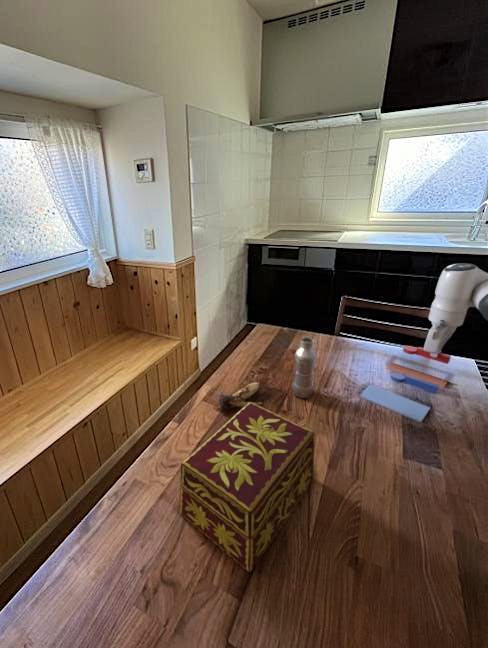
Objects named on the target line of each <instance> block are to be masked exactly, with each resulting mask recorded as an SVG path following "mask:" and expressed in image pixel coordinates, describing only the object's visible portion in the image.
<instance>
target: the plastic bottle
mask: <svg viewBox="0 0 488 648" xmlns="http://www.w3.org/2000/svg"><path fill="white" fill-rule="evenodd" d="M314 341H315V340H314V339H313V338H312V337H308V336H305V337H301V339H300V344H299V347H298V348H297V349H296V351H295V353H294V359H295V374H294V380H293V381H292V386H291V387H292V393H293V394H294V395H295V396H296V397H297V398H300V399H308V398H310V397H311V396H313V392H314V382H313V381H314V372H315V371H314V370H315V366H316V361H317V357H318V355H317V352H316V350H315V349H314V346H315V345H314V343H315V342H314Z"/></svg>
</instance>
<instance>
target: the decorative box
mask: <svg viewBox="0 0 488 648" xmlns="http://www.w3.org/2000/svg"><path fill="white" fill-rule="evenodd" d="M254 403H255V402H254ZM254 403H252V401H249V403H248V404H247V405H245V406H244V407H243V408H242V407H241V408H240V410H238V411H237V412H236V413H235V414H234V415H232V417H231V418H229V420H227V421H226V422H225V423H224V424H223V425H222V426H220V427H219V428H218V429H217V430H216V431H215V432H214V433H212V435H211V436H210V437H208V438H207V439H206V440H205V441H204V442H202V443H201V444H200V445H199V446H198V447H197V448H196V449H195V450H194V451H193V452H191V453H190V454H189V455H188V456H187V457H186V458H185V459H184V460H183V461H182V462H181V464H180V481H179V483H180V485H179V514H180V513H181V514H180V515H181V516H182V515H183V516H184V517H183V516H182V517H183V518H184V519H185V520H186V521H188V522H189V521H190V522H191V523H190V522H189V523H190V524H191V525H193V526H194V527H195V528H196V527H197V528H198V529H197V528H196V529H197V530H199V531H200V532H201V533H202V534H203V533H204V534H205V537H207V538H208V539H209V540H210V539H211V540H212V541H211V540H210V541H211V542H212V543H214V544H215V546H217V545H218V546H219V547H218V546H217V547H218V548H219V549H220V550H222V551H223V552H224V551H225V552H226V553H225V552H224V553H225V554H227V555H228V556H229V557H230V558H231V557H232V558H233V559H232V558H231V559H232V560H233V561H234V562H236V563H237V564H238V563H239V564H240V565H239V564H238V565H239V566H240V567H241V568H243V569H244V570H245V569H246V570H247V571H246V570H245V571H246V572H248V573H249V572H250V573H251V572H252V571H253V569H254V568H255V567H256V566H257V564H258V562H259V561H260V559H261V558H262V557H263V555H264V553H265V552H266V550H267V549H268V548H269V546H270V544H271V543H272V542H273V539H274V538H275V537H276V536H277V534H278V533H277V532H279V531H280V530H279V529H281V528H282V527H283V525H284V524H285V523H286V521H287V519H288V518H289V516H290V515H291V513H292V512H293V510H294V509H295V507H296V506H297V504H298V503H299V502H300V500H301V499H302V497H303V495H304V494H305V492H306V491H307V489H308V488H309V486H310V485H311V484H312V483H313V480H314V478H315V432H314V431H313V430H311V429H309V428H307V427H305V426H303V425H301V424H299V423H296V422H294V421H292V420H290V419H288V418H286V417H284V416H282V415H279V414H278V413H275V412H273V411H271V410H269V409H266V408H265V407H262V406H261V405H260V406H258V405H256V404H254ZM204 534H203V535H204ZM254 566H255V567H254ZM251 570H252V571H251Z"/></svg>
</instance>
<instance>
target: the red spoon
mask: <svg viewBox="0 0 488 648" xmlns="http://www.w3.org/2000/svg"><path fill="white" fill-rule="evenodd" d="M402 351H403V353H405V354H407V355H417V356H420V357H423V358H426V359H430V360H432V361H436V362H438V363H442V364H446V365H448V364H449V363H450V360H451V358H452V355H449V354H446V353H443V352H440V353H439V354H438V356H437V357H436V358H435V357H432V356H430V354H431V353H429V352H426V351H424V347H422V346H418V347H415V346H413V345H404V346H403V348H402Z"/></svg>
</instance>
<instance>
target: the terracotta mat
mask: <svg viewBox="0 0 488 648" xmlns="http://www.w3.org/2000/svg"><path fill="white" fill-rule="evenodd" d="M386 370H389V371H393V372H394V373H400V374H403V375H404V376H406V375H410V376H413V377H416V378H419V379H422V380H424V381H427V382H430V383H433V384H436V385H439V386H438V388H441V389H445V388H446V386H447V385H448V383H449V380H446V379H443V378H440V377H437V376H434V375H431V374H429V373H428V374H427V373H426V372H422V371H419V370H416V369H413V368H410V367H407V366H403V365H400V364H398V363H395V362H390V363H389V364H388V366H387V367H386Z"/></svg>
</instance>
